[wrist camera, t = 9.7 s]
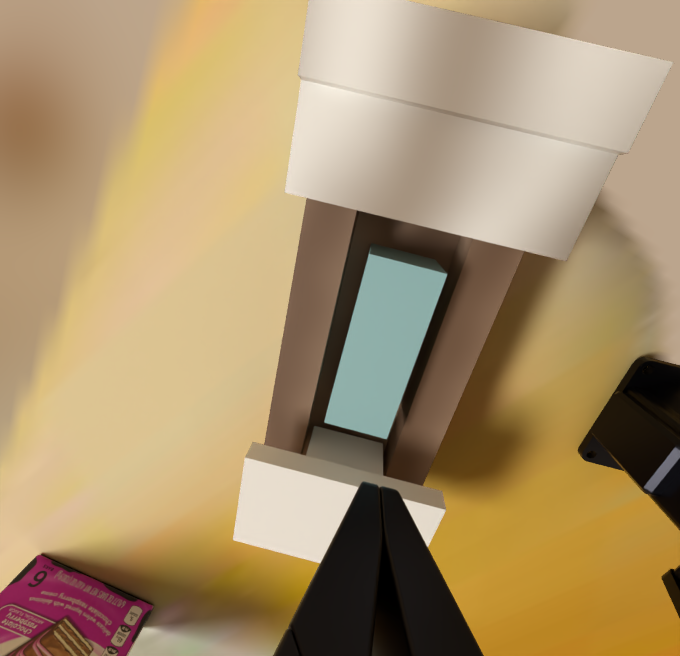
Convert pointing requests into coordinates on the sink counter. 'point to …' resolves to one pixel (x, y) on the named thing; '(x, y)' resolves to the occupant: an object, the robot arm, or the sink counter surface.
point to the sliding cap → (318, 493)
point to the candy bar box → (67, 614)
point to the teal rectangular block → (384, 339)
